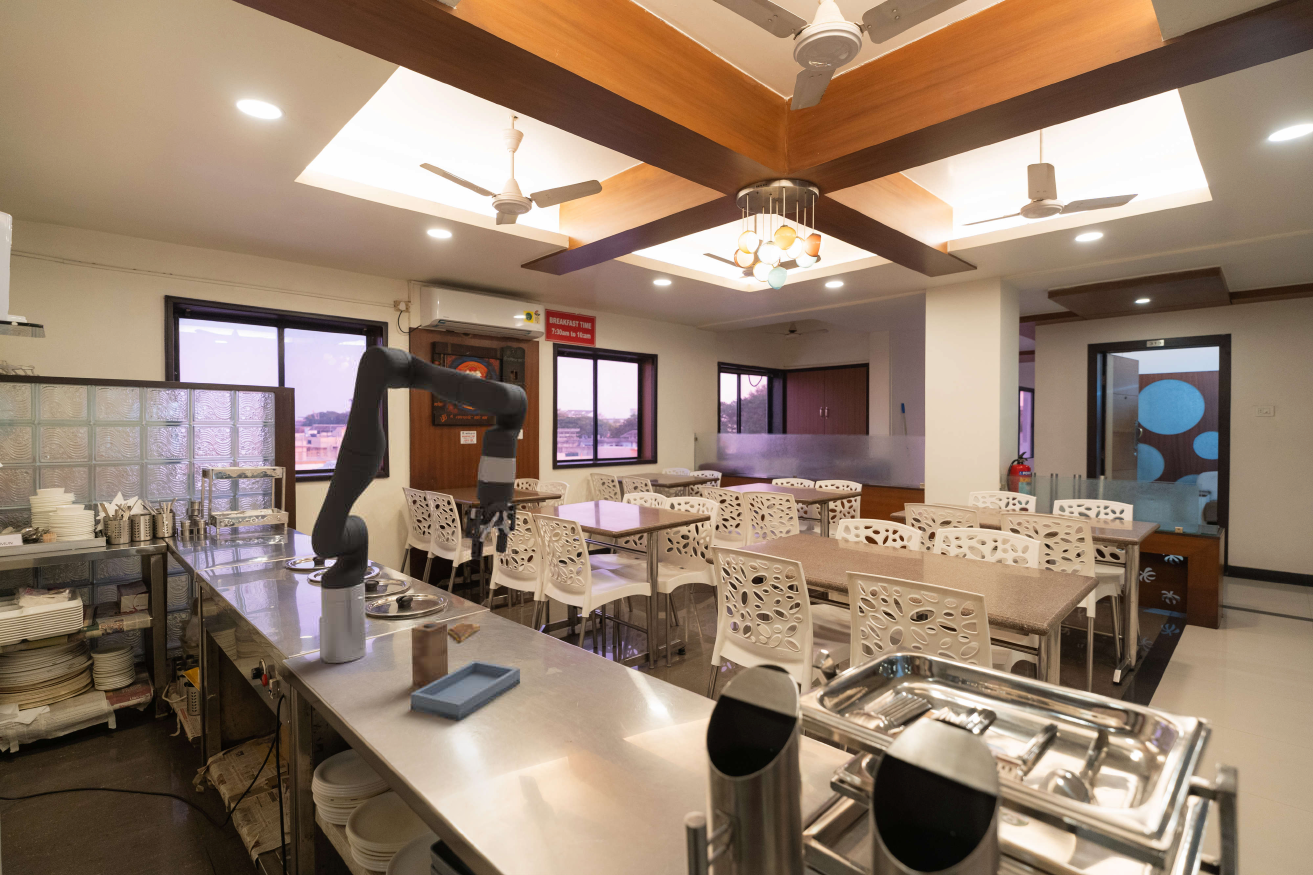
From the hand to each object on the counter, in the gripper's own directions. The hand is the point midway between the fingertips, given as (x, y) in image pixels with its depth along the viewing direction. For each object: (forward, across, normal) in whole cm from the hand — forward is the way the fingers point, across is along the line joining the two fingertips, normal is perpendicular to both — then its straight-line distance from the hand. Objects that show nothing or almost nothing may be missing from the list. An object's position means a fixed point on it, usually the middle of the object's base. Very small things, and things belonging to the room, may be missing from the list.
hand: (488, 555), depth 126 cm
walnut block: (+28, +1, -10) cm, 30 cm away
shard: (+29, -27, -22) cm, 45 cm away
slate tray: (+28, +4, +1) cm, 28 cm away
